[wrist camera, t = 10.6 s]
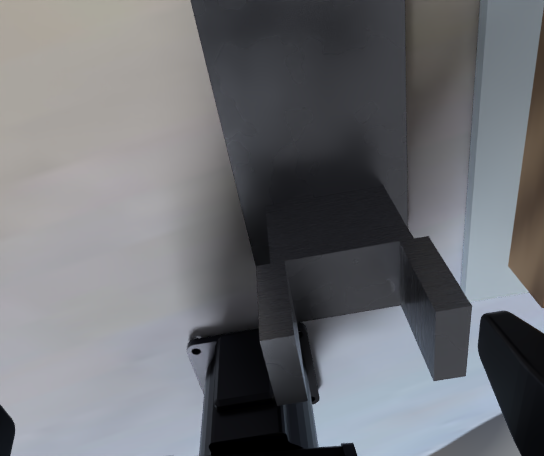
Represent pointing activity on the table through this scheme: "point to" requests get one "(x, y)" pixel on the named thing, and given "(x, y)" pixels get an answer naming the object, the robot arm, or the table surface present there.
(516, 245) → the walnut bar
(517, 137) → the blue-grey mat
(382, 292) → the dark grey u-shaped stand
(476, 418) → the table surface
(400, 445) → the table surface
